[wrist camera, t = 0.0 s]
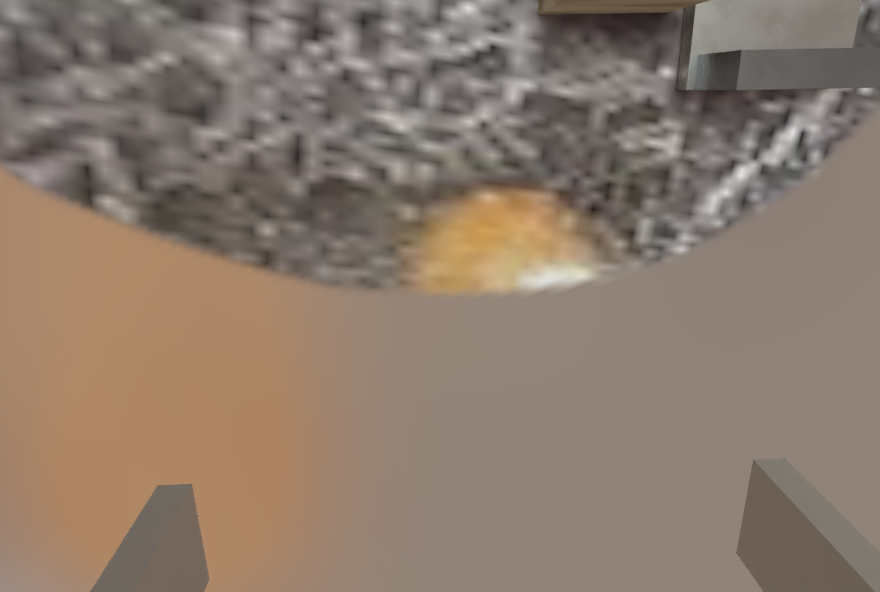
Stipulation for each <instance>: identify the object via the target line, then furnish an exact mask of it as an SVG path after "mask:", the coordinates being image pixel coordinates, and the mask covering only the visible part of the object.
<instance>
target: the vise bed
mask: <svg viewBox="0 0 880 592" xmlns="http://www.w3.org/2000/svg"><path fill="white" fill-rule="evenodd" d="M861 1H862V0H710V1H706V2H703V3H699V4H696V5H692V6H689V7H685V10H684V20H683V29H682V39H681V48H680V58H679V67H678V77H677V86H676V90H694V89H695V80H696V71H697V62H698V55H701V54H710V53H719V52H728V51H736V50H764V49H820V48H853V43H854V38H855V32H856V27H857V22H858V17H859V12H860V7H861Z"/></svg>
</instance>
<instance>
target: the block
mask: <svg viewBox="0 0 880 592" xmlns="http://www.w3.org/2000/svg"><path fill="white" fill-rule="evenodd" d="M706 1H710V0H539V5H538V15H541V14H606V13H668V12H672V11H675V10H679V9H682V8H685V7H689V6H692V5H696V4H699V3H703V2H706Z"/></svg>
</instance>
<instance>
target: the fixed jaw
mask: <svg viewBox="0 0 880 592" xmlns="http://www.w3.org/2000/svg"><path fill="white" fill-rule="evenodd" d="M872 87H880V47H876V48H820V49H764V50H736V51H728V52H719V53H710V54H701V55H698V62H697V71H696V80H695V89H694V90H774V89H823V88H872Z"/></svg>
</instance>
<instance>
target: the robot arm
mask: <svg viewBox="0 0 880 592" xmlns="http://www.w3.org/2000/svg"><path fill="white" fill-rule="evenodd" d="M736 553H737V554H738V556H739V557H740V559H741V560H742V561H743V563H744V564H745V566H746V567H747V569H748V570H749V572H750V573H751V574H752V576H753V577H754V579H755V580H756V582H757V583H758V584H759V586H760V587H761V589H762V590H763V592H880V552H879V551H878V550H877V549H876V548H875V547H874V546H873V545H872V544H871V543H870V542H869V541H868V540H867V539H866V538H865V537H864V536H863V535H862V534H861V533H860V532H859V531H858V530H857V529H856V528H855V527H854V526H853V525H852V524H851V523H850V522H849V521H848V520H847V519H846V518H845V517H844V516H843V515H841V513H840V512H839V511H838V510H836V508H835V507H834V506H832V504H831V503H830V502H829V501H828V500H826V499H825V497H823V496H822V494H821V493H820V492H819V491H817V490H816V489H815V488H814V487H813V486H812V485H811V484H810V483H809V482H808V481H807V480H806V479H805V478H804V477H803V476H802V475H801V474H800V473H799V472H798V471H797V470H796V469H795V468H794V467H793V466H792V465H791V464H790V463H789V462H788V461H787V460H786V459H785V458H778V459H755V460H753V464H752V470H751V475H750V481H749V486H748V492H747V497H746V503H745V508H744V514H743V519H742V525H741V530H740V536H739V541H738V547H737V552H736ZM208 581H209V575H208V570H207V564H206V560H205V553H204V548H203V543H202V537H201V532H200V527H199V521H198V515H197V510H196V505H195V499H194V494H193V488H192V484H182V485H159V486H157V487H156V489H155V491H154V492H153V494H152V496H151V497H150V498H149V500H148V502H147V503H146V505H145V506H144V508H143V510H142V511H141V513H140V514H139V516H138V518H137V519H136V521H135V522H134V524H133V525H132V527H131V528H130V530H129V532H128V533H127V535H126V536H125V538H124V540H123V541H122V543H121V544H120V546H119V548H118V549H117V551H116V552H115V554H114V555H113V557H112V558H111V560H110V561H109V563H108V565H107V566H106V568H105V569H104V571H103V573H102V574H101V576H100V577H99V579H98V580H97V582H96V584H95V585H94V587H93V588H92V590H91V591H90V592H204V591H205V588H206V586H207V583H208Z"/></svg>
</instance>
